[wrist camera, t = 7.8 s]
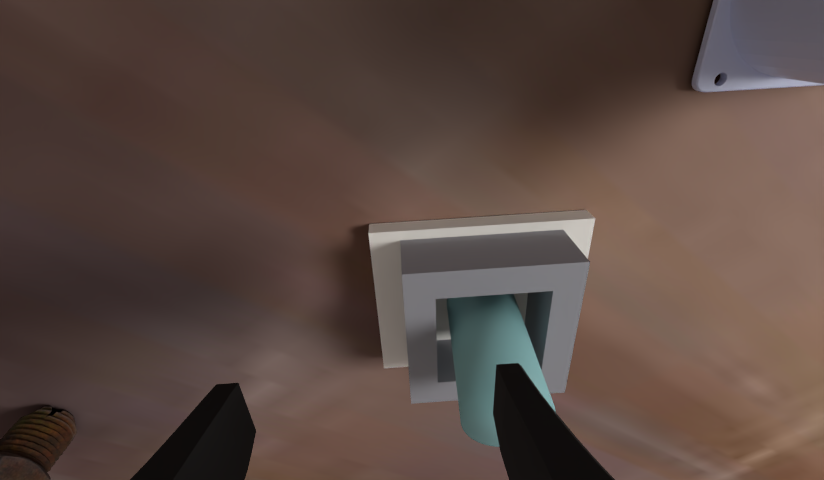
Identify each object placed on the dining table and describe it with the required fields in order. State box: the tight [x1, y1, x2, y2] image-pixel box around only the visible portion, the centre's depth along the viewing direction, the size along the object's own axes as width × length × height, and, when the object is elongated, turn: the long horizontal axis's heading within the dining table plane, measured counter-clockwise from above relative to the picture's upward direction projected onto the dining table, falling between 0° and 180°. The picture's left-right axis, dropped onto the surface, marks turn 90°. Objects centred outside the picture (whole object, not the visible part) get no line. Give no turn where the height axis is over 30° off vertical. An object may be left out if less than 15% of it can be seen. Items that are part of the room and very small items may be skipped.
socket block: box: [368, 210, 595, 403], centre depth 20 cm, size 11×9×4 cm
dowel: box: [447, 294, 556, 447], centre depth 18 cm, size 4×4×7 cm
